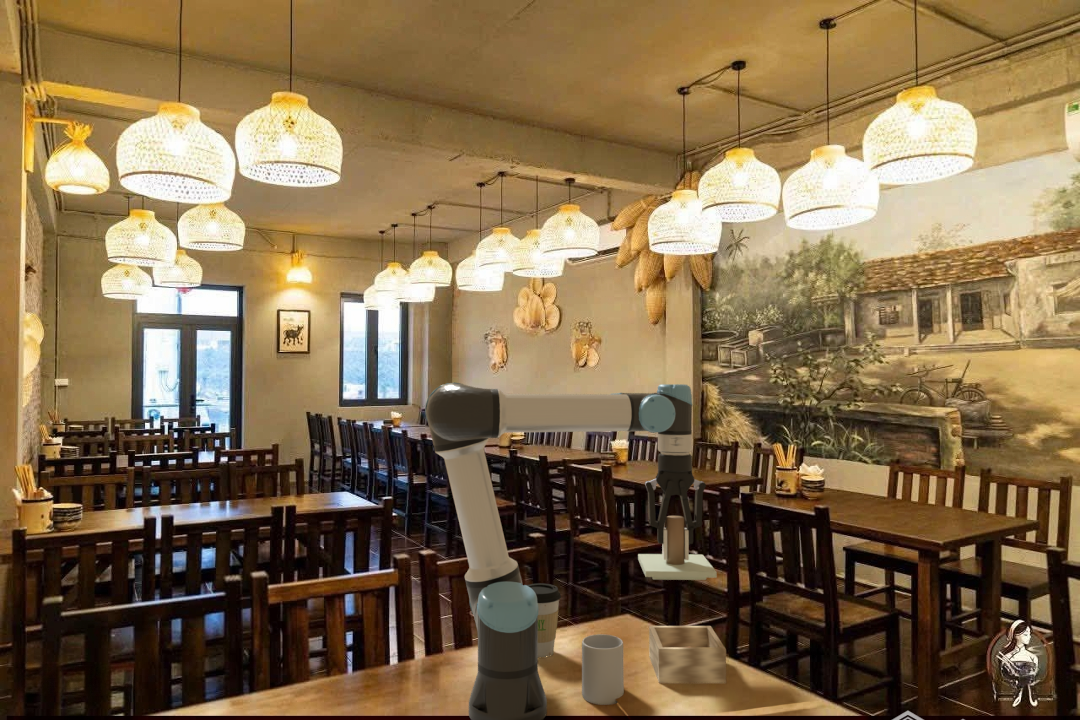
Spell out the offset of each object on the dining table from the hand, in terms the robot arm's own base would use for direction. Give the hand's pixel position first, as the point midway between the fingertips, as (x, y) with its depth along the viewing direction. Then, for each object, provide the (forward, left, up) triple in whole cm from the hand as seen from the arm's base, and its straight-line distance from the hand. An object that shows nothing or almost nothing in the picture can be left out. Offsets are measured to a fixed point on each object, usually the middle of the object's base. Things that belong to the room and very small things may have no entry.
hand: (675, 558), depth 159 cm
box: (+2, -2, -25) cm, 25 cm away
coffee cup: (-30, +10, -25) cm, 40 cm away
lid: (0, 0, -3) cm, 3 cm away
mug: (-17, -11, -25) cm, 32 cm away
